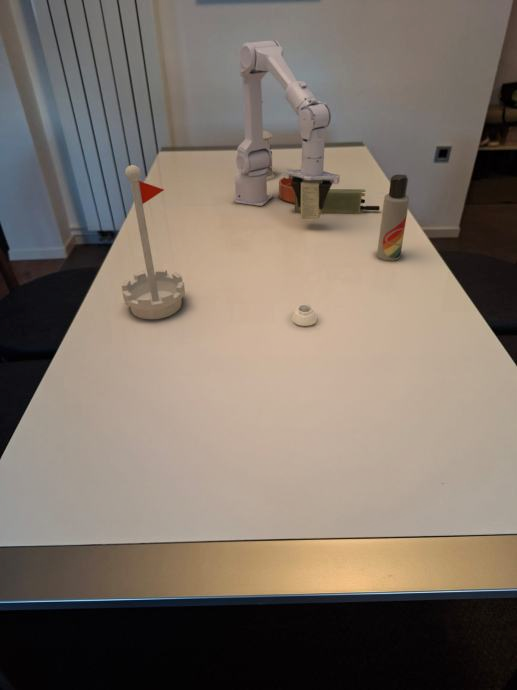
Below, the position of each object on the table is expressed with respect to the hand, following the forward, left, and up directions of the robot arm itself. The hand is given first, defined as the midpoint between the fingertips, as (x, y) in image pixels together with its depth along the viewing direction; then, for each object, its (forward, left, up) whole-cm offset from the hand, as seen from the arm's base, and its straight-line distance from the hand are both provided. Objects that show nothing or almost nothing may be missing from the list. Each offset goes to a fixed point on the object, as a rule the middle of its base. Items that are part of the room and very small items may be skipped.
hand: (310, 206), depth 136 cm
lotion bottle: (+24, -10, -6) cm, 27 cm away
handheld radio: (+4, +14, -6) cm, 16 cm away
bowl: (-11, +22, -6) cm, 25 cm away
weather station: (-31, +38, -6) cm, 49 cm away
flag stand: (-18, -51, -6) cm, 54 cm away
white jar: (+14, -45, -6) cm, 48 cm away
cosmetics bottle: (0, 0, -3) cm, 3 cm away
